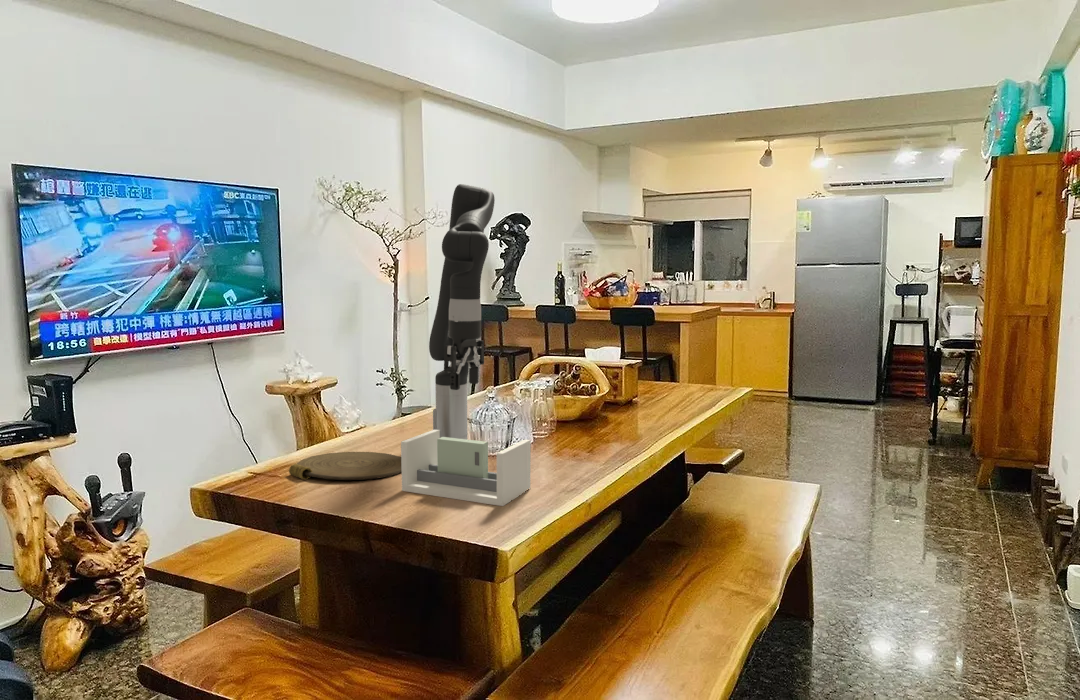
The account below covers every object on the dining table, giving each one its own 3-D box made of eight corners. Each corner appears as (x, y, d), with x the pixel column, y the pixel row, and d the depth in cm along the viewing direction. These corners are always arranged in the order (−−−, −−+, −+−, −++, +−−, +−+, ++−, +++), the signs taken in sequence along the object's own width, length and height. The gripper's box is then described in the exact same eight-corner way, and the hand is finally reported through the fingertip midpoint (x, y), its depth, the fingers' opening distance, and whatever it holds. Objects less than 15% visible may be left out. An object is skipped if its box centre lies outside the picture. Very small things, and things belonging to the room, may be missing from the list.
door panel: (437, 481, 173) (436, 439, 172) (443, 478, 175) (442, 436, 174) (482, 487, 168) (482, 444, 167) (488, 484, 171) (487, 441, 169)
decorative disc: (433, 460, 191) (330, 479, 169) (433, 473, 191) (330, 493, 169) (368, 442, 210) (268, 456, 188) (368, 454, 211) (268, 469, 189)
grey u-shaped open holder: (401, 490, 171) (401, 441, 169) (434, 475, 183) (434, 429, 182) (502, 506, 160) (502, 453, 159) (530, 488, 173) (530, 440, 171)
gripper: (466, 314, 181) (466, 380, 183) (434, 319, 168) (434, 390, 171) (493, 316, 178) (493, 383, 180) (462, 321, 165) (462, 393, 167)
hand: (464, 386), depth 175 cm, fingers open, 8 cm apart
